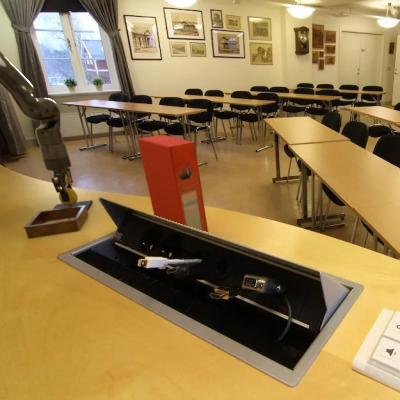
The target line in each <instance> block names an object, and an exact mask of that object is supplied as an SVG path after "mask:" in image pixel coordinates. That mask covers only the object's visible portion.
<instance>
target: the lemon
mask: <svg viewBox="0 0 400 400" xmlns="http://www.w3.org/2000/svg"><path fill="white" fill-rule="evenodd" d="M67 191H68V195H69V198H70V201H67V202H63V201H62V198H61V195H60V193H58V199H59V201H60V204H64V205H66V206H70V207H72V206H73V205H74V204H75V203H76V202H78V194H77V192H76V190H74V188H72V189H71V188H67Z"/></svg>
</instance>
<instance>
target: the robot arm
mask: <svg viewBox="0 0 400 400" xmlns="http://www.w3.org/2000/svg"><path fill="white" fill-rule="evenodd" d="M0 86H1V87H2V88H3V89H4V90H5V91H6V92H7V93H8V94H9V95H10V96H11V98H12V100H13V102H14V103H15V105H16V107H17V108H18V110H19V111H20V112H21V113H22V115H23V116H24V117H26V118H28V119H29V120H32V121H36V122H37V121H38V122H40V124H39V126H38V127H37V128H35V131H34V133H35V136H36V140H37V143H38V146H39V151H40V152H39V153H40V155H41V158H42V160H43V163H44V168H45V170H47V171H52V172H53V174H52V177H51V178H50V179H51V182H52V185H53V187H54V190H55V192H56V193H57V194H59V193H60V195H61V198H62V201H63V202H67V201H70V198H69V195H68V191H67V188H71V189H73V183H74V181H73V176H72V173H71V169H70V168H71V167H72V163H71V159H70V156H69V153H68V149H67V147H66V145H65V142H64V139H63V135H62V132H61V111H60V108H59V106H58V104H57V103H56V102H55V101H54V100H52V99H51V98H47V97H39V98H35V97H34V95H33V94H32V93H33V92H34V91H35V90H34V89H35V87H34V86H33V84H32V83H31V82H30V81H29V80H28V79H27V78H26V77H25V76H24V75H23V73H22V72H21V71H19V69H18V68H16V67H15V66H14V65H13V63H12V62H11V61H9V59H8V57H6V56H5V54H3V52H2V51H1V50H0Z"/></svg>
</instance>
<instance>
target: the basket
mask: <svg viewBox="0 0 400 400" xmlns="http://www.w3.org/2000/svg"><path fill="white" fill-rule="evenodd" d="M88 216H89V212H88V211H87V209H86V205H84V206H76V207H68V208H60V209H53V208H52V209H45V210H39V211H38V212H36V214H35V215H34V216H33V217H32V218H31V219H30V220H29V222H27V223H26V224H25V226H24V227H23V229H24V230H25V233H26V235H27V238H28V239H31V238H37V237H38V238H39V237H45V236H51V235H57V234H64V233H72V232H79V231H80V230H81V228H82V226H83V225H84V223H85V221H86V220H87V218H88ZM70 217H73V219H71V218H70ZM86 217H87V218H86ZM65 218H66V219H68V220H66V219H65ZM57 220H59V221H57ZM50 221H52V222H50ZM53 221H55V222H53ZM45 222H47V223H45ZM78 230H79V231H78ZM71 231H72V232H71Z"/></svg>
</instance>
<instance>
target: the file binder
mask: <svg viewBox="0 0 400 400" xmlns="http://www.w3.org/2000/svg"><path fill="white" fill-rule="evenodd" d="M137 144H138V147H139V152H140V157H141V160H142V166H143V170H144V175H145V180H146V185H147V188H148V189H147V190H148V192H149V199H150V203H151V207H152V211H153V216H154V215H156V216H159V217H162V218H165V219H168V220H171V221H174V222H177V223H180V224H183V225H186V226H189V227H193V228H196V229H199V230H202V231H206V232H208V233H209V229H208V222H207V216H206V209H205V203H204V194H203V189H202V182H201V175H200V169H199V168H200V167H199V162H198V156H197V149H196V142H195V141H191V140H187V139H183V138H178V137H174V136H170V135H165V134H159V135H151V136H146V137H140V138H137Z"/></svg>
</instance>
